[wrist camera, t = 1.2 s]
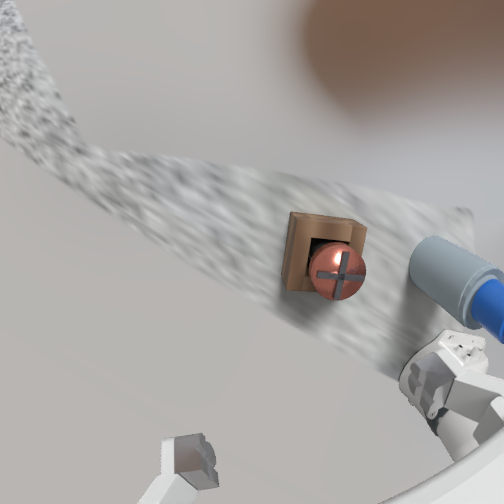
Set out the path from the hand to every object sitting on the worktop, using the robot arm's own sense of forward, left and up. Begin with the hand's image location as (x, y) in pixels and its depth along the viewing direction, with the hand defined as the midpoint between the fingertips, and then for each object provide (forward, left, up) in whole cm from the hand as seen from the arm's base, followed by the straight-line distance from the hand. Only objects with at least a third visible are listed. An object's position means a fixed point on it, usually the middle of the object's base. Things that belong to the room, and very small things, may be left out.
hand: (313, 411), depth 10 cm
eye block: (-8, +3, -32) cm, 33 cm away
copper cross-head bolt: (-8, +3, -32) cm, 33 cm away
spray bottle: (-28, +3, -32) cm, 43 cm away
